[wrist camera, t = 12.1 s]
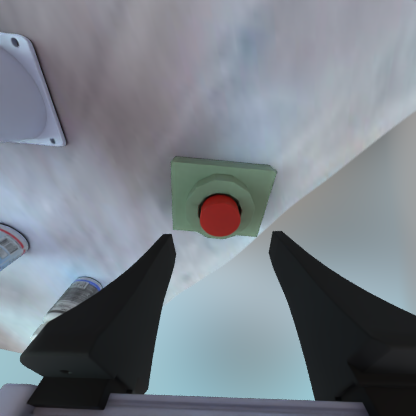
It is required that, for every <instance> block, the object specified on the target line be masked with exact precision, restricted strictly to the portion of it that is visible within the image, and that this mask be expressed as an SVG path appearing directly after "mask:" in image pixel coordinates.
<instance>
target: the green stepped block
mask: <svg viewBox="0 0 416 416" xmlns="http://www.w3.org/2000/svg"><path fill="white" fill-rule="evenodd" d="M276 174H277V171H276V170H275V169H274V168H273V167H271V166H270V165H262V164H251V163H241V162H230V161H219V160H209V159H198V158H187V157H177V156H176V157H175V158H174V159H173V160H172V161H171V185H172V214H173V230H184V231H195V232H198V233H200V234H202V235H204V236H205V237H207V238H216V239H226V238H229V237H232V236H235V235H241V236H252V237H257V234H258V231H259V228H260V225H261V222H262V218H263V215H264V212H265V209H266V206H267V202H268V199H269V196H270V193H271V190H272V186H273V183H274V180H275V177H276ZM214 195H226V196H229V197H231V198H232V199H233V200H234V201H235V202H236V204H237V206H238V210H239V214H240V218H241V221H240V225H239V227H238V228H237V230H236V231H235V232H233V233H232V234H230V235H228V236H223V237H217V236H212V235H210V234H208V233H206V232H205V231H204V230H203V228H202V227H201V224H200V214H201V207H202V205H203V203H204V201H205V200H206V199H208V198H209V197H211V196H214Z"/></svg>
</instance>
